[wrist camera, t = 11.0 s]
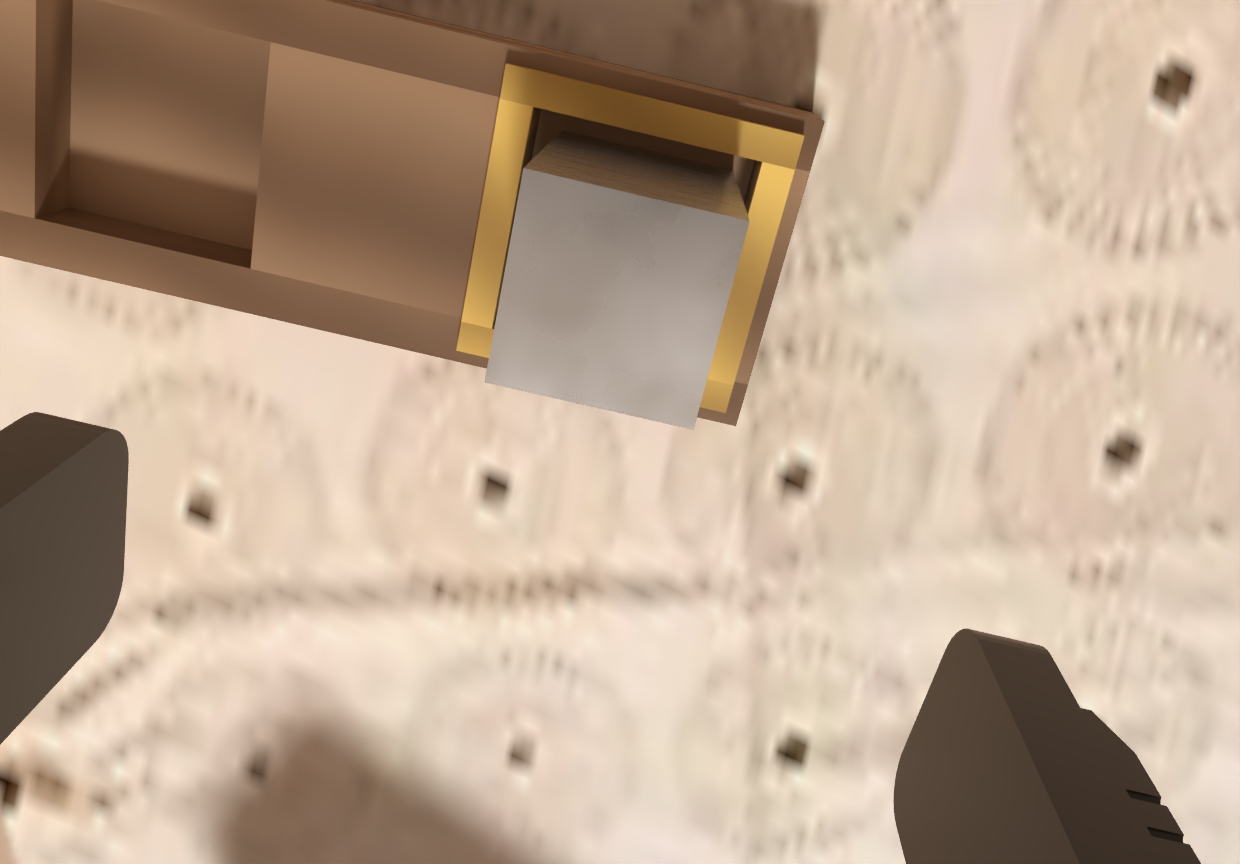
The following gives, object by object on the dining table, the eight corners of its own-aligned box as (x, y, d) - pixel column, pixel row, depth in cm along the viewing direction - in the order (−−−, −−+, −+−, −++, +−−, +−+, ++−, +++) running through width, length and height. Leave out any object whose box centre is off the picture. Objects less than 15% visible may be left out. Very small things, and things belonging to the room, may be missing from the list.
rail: (44, -75, 26) (-24, -84, 24) (812, 112, 27) (825, 122, 24) (41, 234, 29) (-20, 255, 27) (731, 395, 30) (736, 430, 27)
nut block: (562, 130, 26) (523, 168, 20) (733, 170, 27) (749, 221, 20) (529, 297, 28) (484, 382, 22) (690, 334, 28) (693, 429, 22)
